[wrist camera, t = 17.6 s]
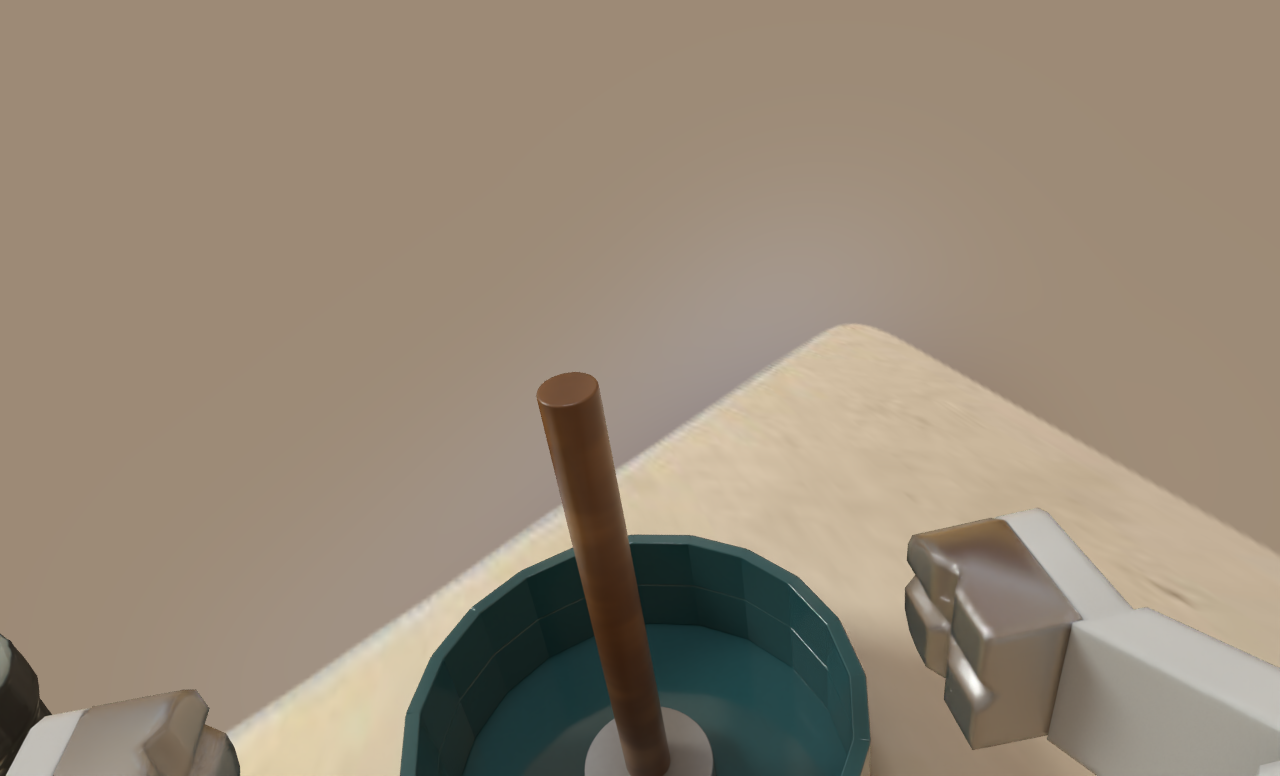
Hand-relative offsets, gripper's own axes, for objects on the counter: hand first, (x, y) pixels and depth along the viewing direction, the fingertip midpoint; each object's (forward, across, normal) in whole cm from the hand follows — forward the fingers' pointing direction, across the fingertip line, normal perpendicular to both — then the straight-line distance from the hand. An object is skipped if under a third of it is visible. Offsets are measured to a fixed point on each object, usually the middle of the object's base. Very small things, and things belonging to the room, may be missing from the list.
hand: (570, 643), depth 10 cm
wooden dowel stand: (+14, 0, +24) cm, 28 cm away
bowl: (+14, 0, +25) cm, 29 cm away
